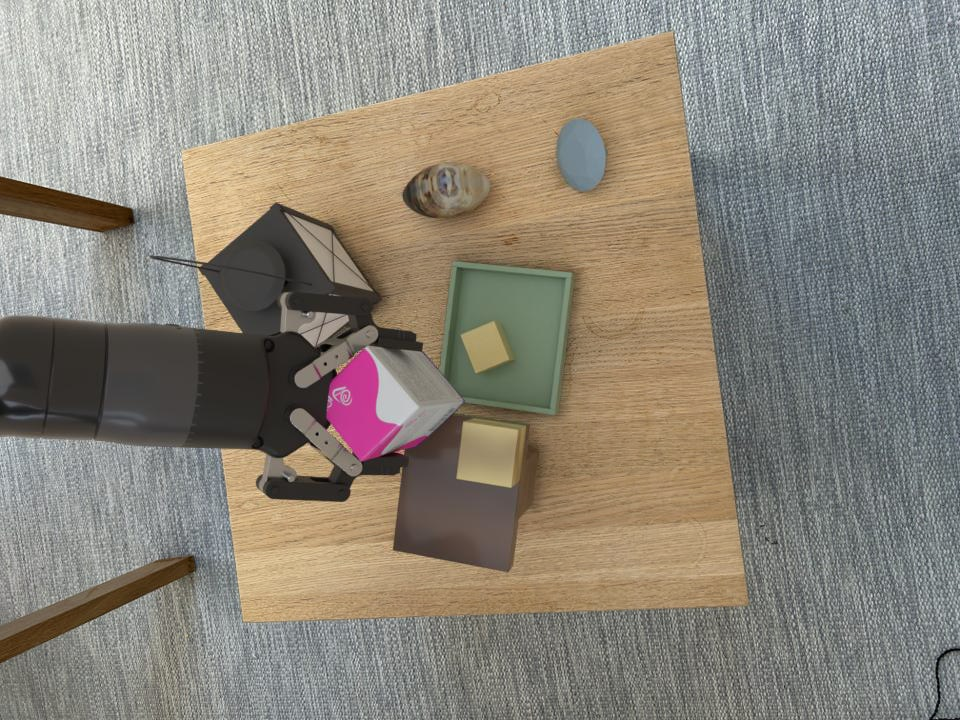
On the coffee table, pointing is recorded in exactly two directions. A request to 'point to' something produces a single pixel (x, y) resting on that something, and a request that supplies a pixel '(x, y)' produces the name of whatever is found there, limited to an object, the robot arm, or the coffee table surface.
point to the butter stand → (467, 492)
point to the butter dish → (509, 334)
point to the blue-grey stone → (581, 154)
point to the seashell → (446, 190)
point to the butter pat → (487, 347)
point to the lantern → (283, 272)
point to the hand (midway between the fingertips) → (411, 402)
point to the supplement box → (389, 401)
